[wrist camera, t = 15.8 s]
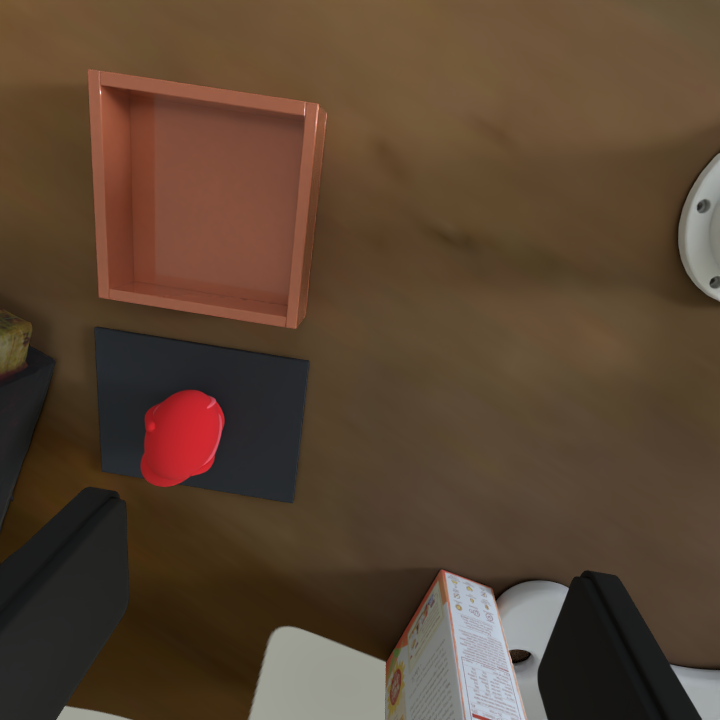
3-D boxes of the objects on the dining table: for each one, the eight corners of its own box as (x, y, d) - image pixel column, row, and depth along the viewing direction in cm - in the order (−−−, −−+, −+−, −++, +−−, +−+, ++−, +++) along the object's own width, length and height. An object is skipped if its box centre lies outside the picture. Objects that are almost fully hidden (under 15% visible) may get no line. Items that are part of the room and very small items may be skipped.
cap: (169, 368, 39) (131, 397, 33) (237, 389, 39) (211, 422, 34) (155, 447, 42) (118, 487, 36) (219, 467, 42) (192, 509, 36)
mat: (309, 360, 38) (308, 362, 38) (293, 500, 43) (292, 503, 43) (96, 326, 39) (94, 327, 38) (104, 469, 43) (101, 471, 43)
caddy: (327, 113, 32) (318, 103, 29) (305, 316, 37) (296, 329, 33) (121, 82, 32) (86, 68, 29) (127, 287, 37) (98, 297, 34)
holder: (516, 564, 44) (530, 608, 39) (831, 681, 46) (882, 736, 41) (432, 692, 50) (436, 743, 45) (712, 790, 52) (744, 848, 47)
